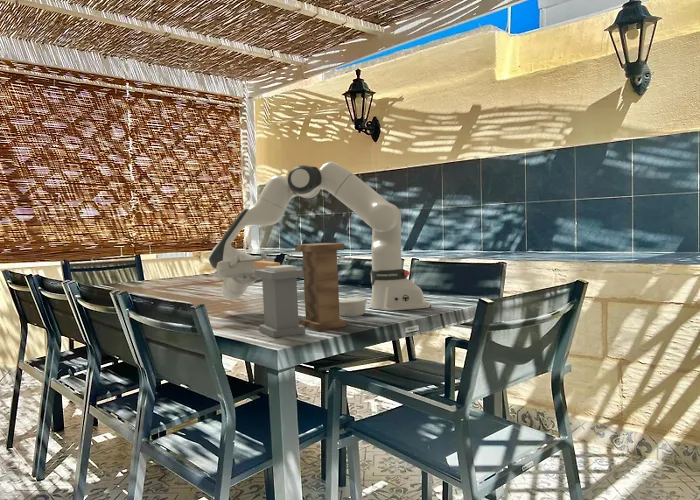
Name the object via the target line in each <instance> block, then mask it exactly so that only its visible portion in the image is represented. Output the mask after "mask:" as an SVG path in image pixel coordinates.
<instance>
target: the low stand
mask: <svg viewBox="0 0 700 500" xmlns="http://www.w3.org/2000/svg"><path fill="white" fill-rule="evenodd" d="M255 277H260V278H262V283H261V284H262V299H263V300H262V301H263V302H262V303H263V316H264V317H263V318H264V319H263V320H264V321H263V322H264V324H263V323H262V324H259V325H258V331H259V332H260V333H262V334H264V335H266V336H268V337H271V338H273V339H274V338H275V339H276V338H283V337H289V336H297V335H301V334H306V327H305V326H302V325H301V324H299V322H300V320H299V307H298V306H299V303H298V283H297V282H298V281H297V280H298V279H297V278H304V271H303V269H300V268H299V269H298V268H297V270H294V271H283V272H270V271H265V269H262V270H255Z"/></svg>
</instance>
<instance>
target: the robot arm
mask: <svg viewBox="0 0 700 500" xmlns="http://www.w3.org/2000/svg"><path fill="white" fill-rule="evenodd" d="M322 190H324V191H326V192H328V193H329V194H331V195H332V196H333V197H334V198H336V199H337V200H338V201H339V202H341V203H342V204H343V205H345V206H346V207H347V208H348V209H350V210H351V211H352V212H353V213H354V214H355V215H357V217H358V218H359V219H361V220H362V221H363V222H364V223H365V224H366V225H368V226H369V227H370V228H371V229H372V230H371V231H372V232H371V233H372V235H371V250H370V251H371V270H370V283H371V287H372V288H371V297H370V298H371V299H370V303H369V308H370V309H374V310H382V311H401V310H402V311H403V310H404V311H405V310H415V309H427V308H430V306H431V303H430V302H429V301H428V300H426V299H425V298H424V297H425V296H424V293H423V290H422V289H421V287H420V286H418V285H417V284H415V283H414V282H413V281H411V280H410V279H408V276H409V275H410V271H409V270H408V269H407V270H406V269H404V268H403V267H402V214H401V211H400V209H399V208H398V206H396V205H395V204H393V203H390V202H389V201H387V200H386V199H385V198H384V197H383V196H382V195H380V194H379V193H378V192H377V191H375V190H374V189H373V187H371V186H370V185H368V184H367V183H366V182H365V181H363V180H362V179H360V177H358V176H357V175H356V174H354V173H353V172H351V170H349V169H348V168H346V167H344V166H343V165H341V164H339V163H338V162H334V161H327V162H325V163H323V164H322V166H320V168H318V167H317V166H311V165H303V164H301V165H297V166H294V167H293V168H292V169H290V170H289V172H288V175H287V177H286V176H283V175H273V176H272V177H270V179H269V180H268V181H267V183H266V185H265V186H264V188H263V189H262V191H261V193H260V195H259V197H258V199H257V200H256V202H255V203H253V205H251V206H247V207H244V208H243V209H242V211H240V212H239V215H238V216H237V217H236V218H235V219H234V220H233V222H232V224H231V225H230V226H229V228H228V229H227V231H225V234H223V237H222V238H221V239H220V241H219V242H218V243H217V244H216V245H215V246H214V247H213V248H212V250H211V251H210V253H209V257H208V261H209V264H210V266H211V267H212V268H213V269H214V270H216V271H214V272H213V275H212V276H213V278H216V279H217V278H218V279H221V280H222V279H223V281H222V285H221V290H220V291H221V294H222V296H223V297H224V298H225V299H227V300H229V301H237V300H239V299H240V298H241V297H242V296H243V295H244V294H245V292H247V289H248V287H250V286H252V285H255V284H257V283H261V282H262V278H260V277H255V270H262V269H261V268H255V267H254V261H270V262H275V259H274V258H273V257H267V254H266V253H263V254H260V258H259V257H258V258H257V257H255V256H254V255H251V254H249V253H247V252H244V251H242V250H239V249H237V248H235V247H233V246H232V243H233V242H234V241H235V240H236V238H237V237H238V235H239V234H240V232H241V230H242V229H243V228H245V227H247V226H262V227H263V226H264V227H265V226H273V225H275V224H278V223H279V222H280V220H281V219H282V217H283V216H284V214H285V213H286V209H287V208H288V206H289V203H290V202H291V200H292V199H294V198H296V199H303V200H312V199H314V198H316V197H318V196H319V195H320V194H321V192H322Z"/></svg>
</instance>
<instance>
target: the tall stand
mask: <svg viewBox="0 0 700 500" xmlns="http://www.w3.org/2000/svg"><path fill="white" fill-rule="evenodd" d="M344 244H345V243H339V242H316V243H315V242H313V243H302V244H301V243H300V244H295V245H294V247H295V248H294V249H295V252H302V270H303V271H304V277H303V289H304V290H303V291H304V309H305V310H304V311H305V318H299V319H300V320H299V322H300V324H299V325H302V326H305V329H306V328H307V329H309V330H313V331H316V332H321V331H326V330H327V331H328V330H334V329H341V328H347V324H346V319H342V318H341V316H340V313H339V299H340V298H339V293H340V291H339V273H338V270H339V269H338V255H337V254H338V253H337V252H338V251H344V250H345V245H344ZM340 327H341V328H340Z"/></svg>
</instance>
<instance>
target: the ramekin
mask: <svg viewBox="0 0 700 500" xmlns="http://www.w3.org/2000/svg"><path fill="white" fill-rule="evenodd" d="M367 302H368V301H367V298H364V297H357V296H355V297H354V296H353V297H342V298H339V313H340V317H345V318H346V317H358V316H362V315H364V314H365V313H366V306H367Z"/></svg>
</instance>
